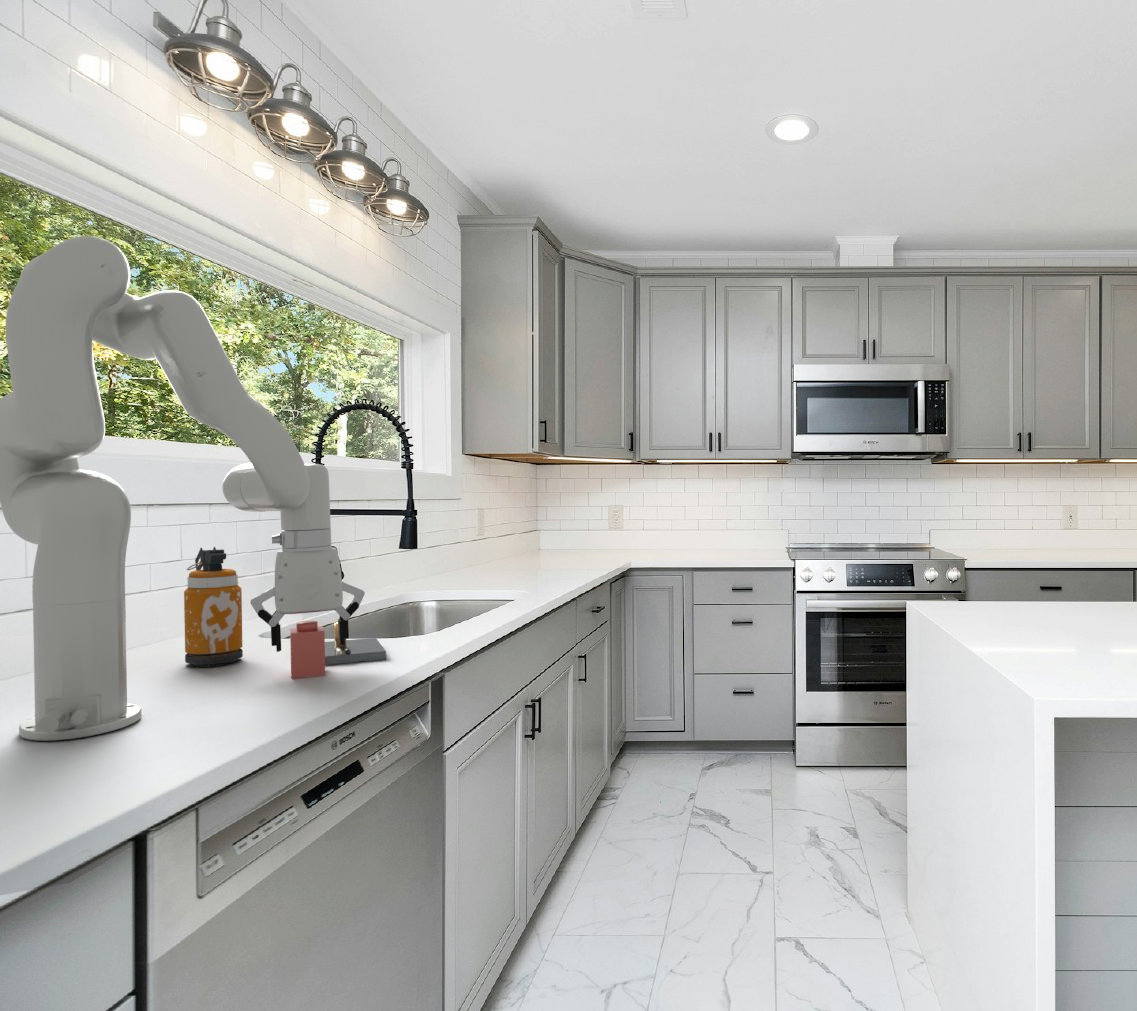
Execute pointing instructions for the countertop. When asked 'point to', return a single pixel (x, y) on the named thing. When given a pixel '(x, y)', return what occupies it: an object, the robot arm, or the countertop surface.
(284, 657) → the countertop surface
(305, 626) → the pink cube with dome
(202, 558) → the canister
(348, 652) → the grey plate with peg
